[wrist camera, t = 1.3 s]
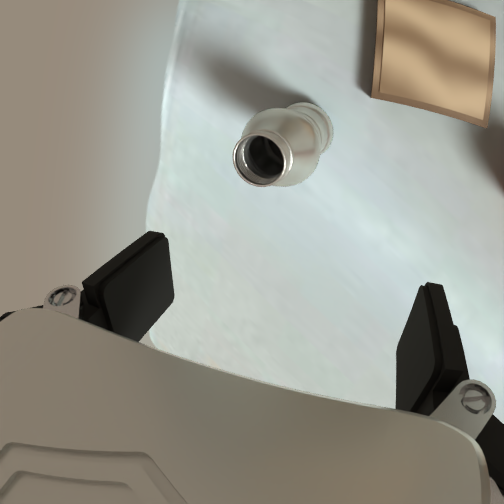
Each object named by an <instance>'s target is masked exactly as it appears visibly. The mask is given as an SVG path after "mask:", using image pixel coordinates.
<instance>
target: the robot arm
mask: <svg viewBox="0 0 504 504" xmlns="http://www.w3.org/2000/svg"><path fill="white" fill-rule="evenodd" d="M82 284H83V288H84V290H83V291H81V292H80V289H79V288H78V287H76V286H73V285H64V286H60V287H57V288H55V289H53V290H52V291H50V292H49V293H48V294H47V296H46V298H45V301H44V305H42V306H37V307H32V308H27V309H21V310H18V311H13V312H7V313H5V314H3V315H2V316H1V317H0V504H504V424H503V423H502V422H500V421H499V420H498V419H497V418H496V417H495V416H494V415H493V413H494V410H495V408H496V400H495V396H494V394H493V392H492V391H491V389H490V388H489V387H488V386H487V385H485V384H484V383H482V382H480V381H477V380H470V379H469V374H468V369H467V364H466V359H465V355H464V350H463V346H462V342H461V338H460V334H459V330H458V327H457V326H456V325H453V321H452V317H451V313H450V310H449V306H448V302H447V299H446V295H445V292H444V288H443V286H442V285H440V284H435V283H429V282H427V283H426V284H425V286H422V285H421V286H420V287H419V290H418V293H417V296H416V298H415V301H414V304H413V307H412V310H411V312H410V315H409V318H408V320H407V323H406V325H405V328H404V330H403V333H402V335H401V338H400V340H399V343H398V346H397V351H396V409H392V408H386V407H381V406H376V405H371V404H365V403H359V402H353V401H348V400H343V399H338V398H333V397H328V396H323V395H319V394H314V393H309V392H305V391H300V390H296V389H292V388H288V387H283V386H279V385H275V384H271V383H268V382H264V381H260V380H256V379H252V378H249V377H245V376H241V375H238V374H234V373H231V372H227V371H224V370H221V369H217V368H214V367H211V366H207V365H204V364H201V363H198V362H195V361H192V360H188V359H185V358H182V357H179V356H176V355H173V354H171V353H168V352H165V351H162V350H159V349H156V348H153V347H150V346H148V345H145V344H142V343H139V341H140V340H141V338H142V337H143V336H144V334H146V333H147V331H148V330H149V329H150V328H151V327H152V326H153V324H154V323H155V322H156V321H157V320H158V319H159V318H160V316H161V315H162V314H163V313H164V312H165V311H166V309H167V308H168V307H169V306H170V305H171V304H172V302H173V300H174V287H173V279H172V271H171V262H170V252H169V243H168V239H167V238H166V237H165V235H164V234H163V233H159V232H154V231H148V232H147V233H145V234H144V235H143V236H141V237H140V238H139V239H137V240H136V241H135V242H133V243H132V244H131V245H129V246H128V247H127V248H125V249H124V250H123V251H121V252H120V253H119V254H117V255H116V256H115V257H113V258H112V259H111V260H110V261H108V262H107V263H106V264H104V265H103V266H102V267H100V268H99V269H98V270H97V271H95V272H94V273H93V274H91V275H90V276H89V277H88V278H86V279H85V280H84V281H83V282H82Z"/></svg>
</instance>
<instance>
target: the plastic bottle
mask: <svg viewBox="0 0 504 504" xmlns="http://www.w3.org/2000/svg"><path fill="white" fill-rule="evenodd" d="M332 140H333V126H332V122H331V120H330V118H329V117H328V115H327V114H326V113H325V112H324V111H323V110H322V109H321V108H319V107H318V106H316V105H314V104H311V103H306V102H299V103H294V104H292V105H290V106H288V107H287V108H285V109H284V108H271V109H267V110H263V111H261V112H259V113H257V114H256V115H255V116H254V117H252V118H251V119H250V121H249V122H248V123H247V124H246V126H245V128H244V130H243V133H242V137H241V139H240V140H239V141H238V143H237V144H236V146H235V148H234V151H233V164H234V167H235V169H236V171H237V173H238V174H239V176H240V177H241V178H242V179H243V180H244V181H246V182H247V183H249V184H251V185H254V186H258V187H267V186H271V185H273V186H279V187H287V186H293V185H296V184H299V183H302V182H303V181H305V180H306V179H308V177H309V176H310V175H311V174H312V173H313V172H314V170H315V169H316V167H317V164H318V161H319V158H320V155H321V154H323V153H324V152H325V151H326V150H327V149H328V148H329V146H330V145H331V143H332Z"/></svg>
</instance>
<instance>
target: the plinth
mask: <svg viewBox="0 0 504 504" xmlns="http://www.w3.org/2000/svg"><path fill="white" fill-rule="evenodd" d="M495 41H496V17H493V16H491V15H488V14H486V13H483V12H481V11H478V10H475V9H472V8H470V7H467V6H464V5H461V4H458V3H455V2H452V1H448V0H377V25H376V42H375V56H374V68H373V79H372V90H371V98H375V99H380V100H385V101H390V102H395V103H399V104H403V105H408V106H412V107H416V108H420V109H424V110H428V111H432V112H435V113H439V114H442V115H446V116H449V117H453V118H456V119H459V120H463V121H466V122H469V123H472V124H475V125H478V126H481V127H484V128H487V127H488V121H489V114H490V106H491V98H492V89H493V78H494V65H495Z"/></svg>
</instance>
